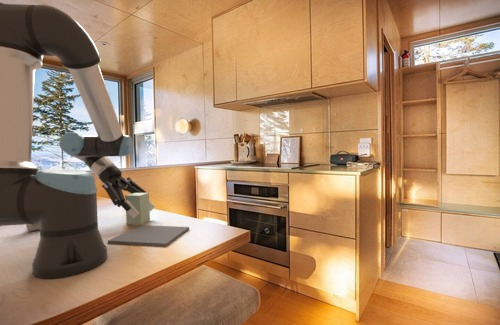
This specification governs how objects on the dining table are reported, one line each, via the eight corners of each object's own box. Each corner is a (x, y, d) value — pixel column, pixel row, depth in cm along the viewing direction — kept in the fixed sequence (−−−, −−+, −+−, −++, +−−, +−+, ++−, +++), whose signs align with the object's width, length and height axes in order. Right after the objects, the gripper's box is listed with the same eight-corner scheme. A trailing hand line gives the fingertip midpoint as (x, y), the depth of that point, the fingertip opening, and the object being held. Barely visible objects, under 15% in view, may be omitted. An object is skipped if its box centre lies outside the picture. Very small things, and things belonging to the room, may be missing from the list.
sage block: (140, 224, 97) (139, 195, 97) (126, 224, 98) (125, 195, 98) (149, 220, 103) (148, 192, 103) (136, 219, 104) (135, 192, 104)
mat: (166, 246, 75) (166, 243, 75) (107, 243, 78) (107, 240, 78) (189, 229, 91) (189, 227, 91) (139, 227, 94) (139, 225, 94)
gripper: (120, 175, 114) (155, 211, 112) (77, 181, 92) (119, 227, 90) (131, 162, 113) (166, 199, 111) (89, 166, 90) (132, 212, 88)
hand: (145, 212), depth 100 cm, fingers open, 10 cm apart
